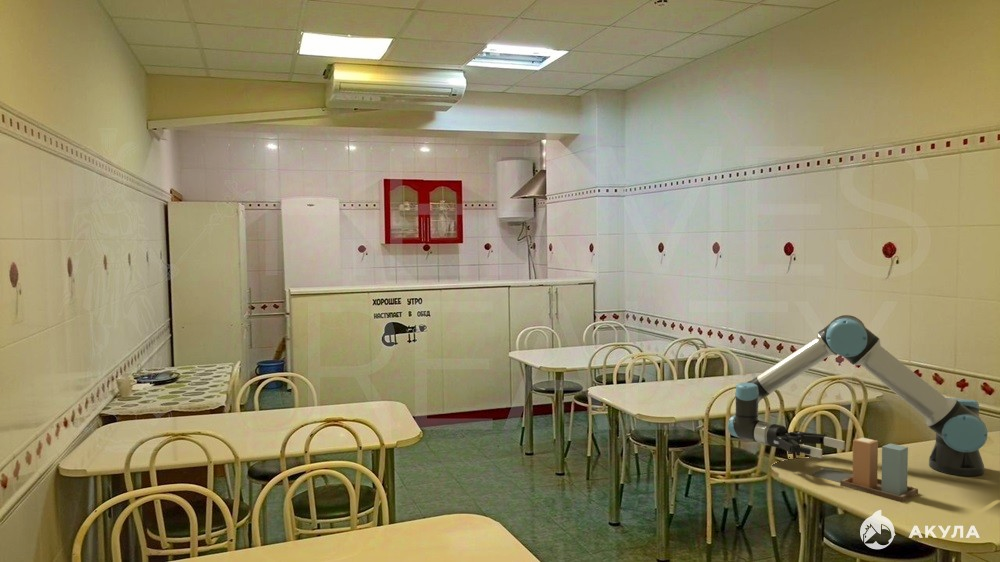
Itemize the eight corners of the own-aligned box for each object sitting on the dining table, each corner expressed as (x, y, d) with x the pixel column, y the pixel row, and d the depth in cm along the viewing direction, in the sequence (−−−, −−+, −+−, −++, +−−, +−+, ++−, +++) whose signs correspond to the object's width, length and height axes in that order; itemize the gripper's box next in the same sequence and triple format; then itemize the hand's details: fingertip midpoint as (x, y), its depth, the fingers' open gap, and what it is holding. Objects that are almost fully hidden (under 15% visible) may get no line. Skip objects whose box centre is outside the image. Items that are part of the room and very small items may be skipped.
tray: (857, 479, 220) (857, 473, 220) (917, 495, 206) (918, 488, 206) (840, 487, 214) (840, 480, 214) (901, 504, 200) (901, 497, 200)
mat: (825, 469, 230) (825, 467, 230) (856, 477, 222) (856, 475, 222) (809, 476, 224) (809, 474, 224) (840, 484, 216) (840, 482, 216)
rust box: (860, 481, 217) (861, 436, 216) (877, 486, 213) (877, 440, 212) (852, 485, 214) (853, 439, 213) (869, 489, 210) (869, 443, 209)
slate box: (889, 489, 210) (890, 443, 209) (907, 494, 206) (907, 447, 205) (881, 493, 207) (882, 446, 206) (899, 498, 203) (900, 450, 202)
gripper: (791, 438, 245) (852, 453, 228) (749, 452, 231) (811, 469, 214) (792, 417, 245) (853, 430, 228) (750, 430, 230) (811, 445, 213)
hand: (833, 449), depth 221 cm, fingers open, 13 cm apart
